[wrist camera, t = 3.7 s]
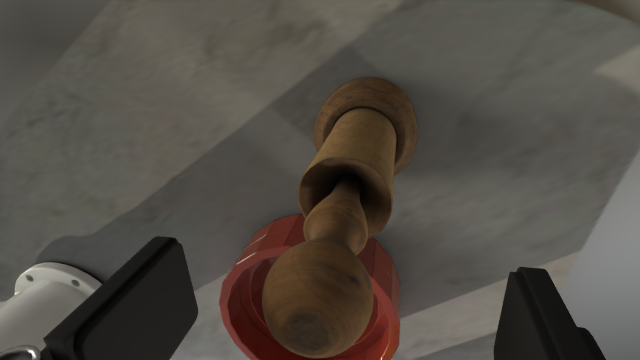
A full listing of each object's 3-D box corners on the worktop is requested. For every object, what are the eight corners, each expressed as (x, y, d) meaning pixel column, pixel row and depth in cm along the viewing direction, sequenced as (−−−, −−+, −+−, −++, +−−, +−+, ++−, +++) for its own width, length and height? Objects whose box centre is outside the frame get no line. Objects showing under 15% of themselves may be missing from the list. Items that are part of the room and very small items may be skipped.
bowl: (254, 328, 35) (233, 374, 31) (234, 206, 30) (205, 240, 25) (396, 346, 32) (395, 399, 28) (403, 215, 27) (403, 255, 23)
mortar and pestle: (323, 72, 24) (165, 195, 8) (424, 81, 23) (481, 241, 7) (318, 166, 27) (194, 396, 11) (408, 177, 26) (421, 450, 10)
